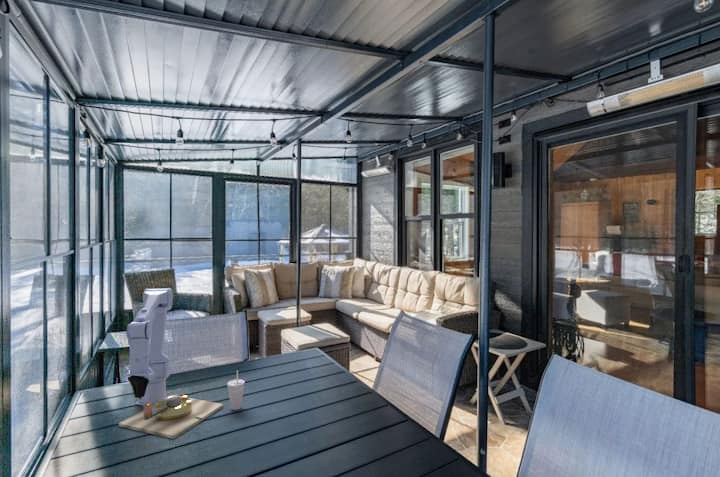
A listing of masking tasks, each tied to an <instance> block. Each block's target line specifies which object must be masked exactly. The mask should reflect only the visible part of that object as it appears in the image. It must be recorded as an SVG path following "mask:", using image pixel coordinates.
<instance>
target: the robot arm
mask: <svg viewBox="0 0 720 477" xmlns="http://www.w3.org/2000/svg"><path fill="white" fill-rule="evenodd" d="M173 300H174V292H173V289H172V288H171V287H167V288H145V289H144V290H143V293H142V302H143V304H144V305H143V308H140V309H139V310H138V311H137V313H136V316H135V318H134V320H133V321H131V322H130V323H128V324H127V326H126V339H127V344H128V346H129V365H126V366H124V367H123V368H124V374H125V373H126V376H128V377H127V381H128V382H129V384H130V386H131V389H132V392H133V396H134V397H135V398H136V399H137V402H136V405H137V406H142V407H144V404H145V403H152V406H153V405H155V404H156V403H157V402H162V401H164V400H165V399H167V398H166V397H167V386H166V384H167V381H166V380H167V379H168V377H170V375H171V358H170V357H169V356H168V355H166V354H165V353H164V347H165V346H164V342H165V332H166V331H165V330H166V321H167V315H168V312H169V311H170V310H171V309H172V307H173V302H174V301H173Z"/></svg>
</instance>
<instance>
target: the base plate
mask: <svg viewBox="0 0 720 477" xmlns="http://www.w3.org/2000/svg"><path fill="white" fill-rule="evenodd" d="M171 396H172V397H170V396H169V397H170V398H168V399H165V400H166V406H169V407H173V406H177V405H179V404H181V397H182V396H183V395H177V394H173V395H171ZM188 398H189V399H191V400H192V411H191V412H190V413H189V414H188V415H186V416H184V417H182V418H179V419H175V420H169V421H163V420H158V419H156V418H155V416H153V417H152V418H150V419H148V420H144V409H143V410H142V411H140V412H138V413H136V414H133V415H132V416H130V417H127V418H125V419H124V420H123V421H120V422H118V427H121V428H124V429H129V430H133V431H137V432H141V433H146V434H151V435H155V436H160V437H164V438H167V439H173V440H174V439H176V438H178V437H179V436H181V435H182V434H184V433H185V432H187V431H188V430H190V429H191V428H194V427H195V426H197V424H199V423H201V422H202V421H204V420H206V419H207V418H209V417H211V415H213V414H215V413H216V412H218V411H219V410H221V409H222V408H224V404H223V403H219V402H214V401H208V400H203V399H197V398H192V397H188ZM153 412H155V405H153V406H152V413H153Z"/></svg>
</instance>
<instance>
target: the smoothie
mask: <svg viewBox="0 0 720 477" xmlns="http://www.w3.org/2000/svg"><path fill="white" fill-rule="evenodd" d="M245 382H246V381H245V380H244V379H241V378H240V379H239V370H236V379H235V378H234V379H232V380H229V381H228V382H227V383H226V384H227V385H226V386H227V387H226V388H227V389H228V396H229V403H230V405H229V406H230V410H232V411H238V410H240V409H241V408H242V404H243V397H244V386H245V385H246V383H245Z"/></svg>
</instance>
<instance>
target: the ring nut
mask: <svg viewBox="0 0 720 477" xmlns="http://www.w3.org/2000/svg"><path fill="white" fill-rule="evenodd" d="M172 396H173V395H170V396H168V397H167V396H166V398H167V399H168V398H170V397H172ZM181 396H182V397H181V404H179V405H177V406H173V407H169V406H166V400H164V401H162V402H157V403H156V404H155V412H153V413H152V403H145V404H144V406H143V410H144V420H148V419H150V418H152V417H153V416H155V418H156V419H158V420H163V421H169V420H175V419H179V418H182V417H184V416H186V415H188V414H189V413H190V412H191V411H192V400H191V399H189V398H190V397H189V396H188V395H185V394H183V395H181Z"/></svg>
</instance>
